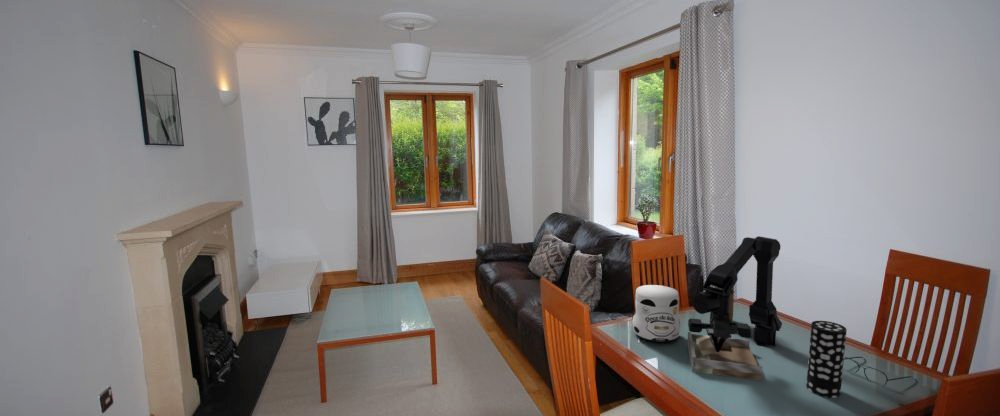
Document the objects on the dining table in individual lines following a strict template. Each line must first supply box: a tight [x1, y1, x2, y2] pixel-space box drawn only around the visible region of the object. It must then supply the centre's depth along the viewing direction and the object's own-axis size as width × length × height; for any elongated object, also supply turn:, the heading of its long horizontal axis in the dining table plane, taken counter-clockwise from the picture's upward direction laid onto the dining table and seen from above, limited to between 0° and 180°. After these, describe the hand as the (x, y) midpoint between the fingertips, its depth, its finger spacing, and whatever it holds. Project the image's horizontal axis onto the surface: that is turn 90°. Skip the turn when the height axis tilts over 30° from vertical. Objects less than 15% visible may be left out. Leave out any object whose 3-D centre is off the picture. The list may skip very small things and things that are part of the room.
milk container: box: [632, 284, 681, 343], centre depth 173 cm, size 17×17×18 cm
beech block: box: [696, 334, 716, 356], centre depth 155 cm, size 4×4×4 cm
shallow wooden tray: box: [687, 331, 763, 381], centre depth 153 cm, size 20×20×5 cm
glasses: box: [844, 356, 912, 387], centre depth 144 cm, size 14×15×5 cm
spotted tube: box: [805, 320, 847, 399], centre depth 133 cm, size 8×8×20 cm
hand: (717, 351), depth 153 cm, fingers closed
